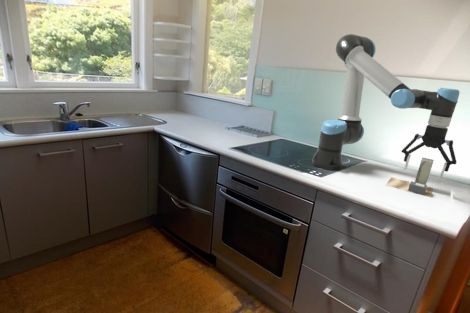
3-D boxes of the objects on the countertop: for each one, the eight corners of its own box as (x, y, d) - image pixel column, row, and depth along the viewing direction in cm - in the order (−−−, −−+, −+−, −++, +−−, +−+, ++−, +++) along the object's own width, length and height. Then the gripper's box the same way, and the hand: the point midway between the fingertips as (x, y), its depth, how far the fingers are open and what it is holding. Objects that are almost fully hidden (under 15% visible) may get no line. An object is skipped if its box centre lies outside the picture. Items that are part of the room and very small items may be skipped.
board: (385, 187, 128) (385, 184, 128) (390, 179, 139) (391, 177, 138) (429, 200, 119) (430, 197, 118) (432, 190, 129) (432, 188, 129)
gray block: (407, 190, 123) (409, 183, 122) (409, 187, 127) (411, 180, 126) (424, 195, 120) (426, 188, 119) (425, 191, 124) (427, 184, 123)
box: (414, 183, 132) (422, 157, 128) (425, 186, 130) (434, 159, 126) (412, 186, 128) (421, 159, 124) (424, 190, 126) (433, 162, 122)
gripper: (403, 121, 125) (390, 167, 131) (475, 133, 111) (456, 184, 118) (405, 119, 131) (393, 163, 137) (474, 131, 117) (456, 179, 123)
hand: (422, 173), depth 127 cm, fingers open, 13 cm apart
